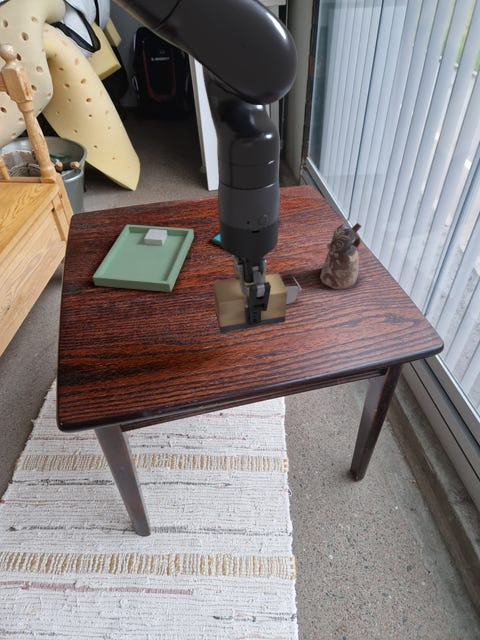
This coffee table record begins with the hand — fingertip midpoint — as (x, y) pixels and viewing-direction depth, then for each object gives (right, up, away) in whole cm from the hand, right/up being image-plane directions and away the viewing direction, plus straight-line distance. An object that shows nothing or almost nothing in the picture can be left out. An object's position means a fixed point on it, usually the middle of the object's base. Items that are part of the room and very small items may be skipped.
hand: (249, 311), depth 64 cm
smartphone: (0, +19, +33) cm, 38 cm away
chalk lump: (-20, +17, +30) cm, 40 cm away
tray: (-21, +12, +26) cm, 35 cm away
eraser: (0, -1, +1) cm, 1 cm away
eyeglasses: (+2, +4, +17) cm, 18 cm away
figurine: (+18, +7, +20) cm, 28 cm away
